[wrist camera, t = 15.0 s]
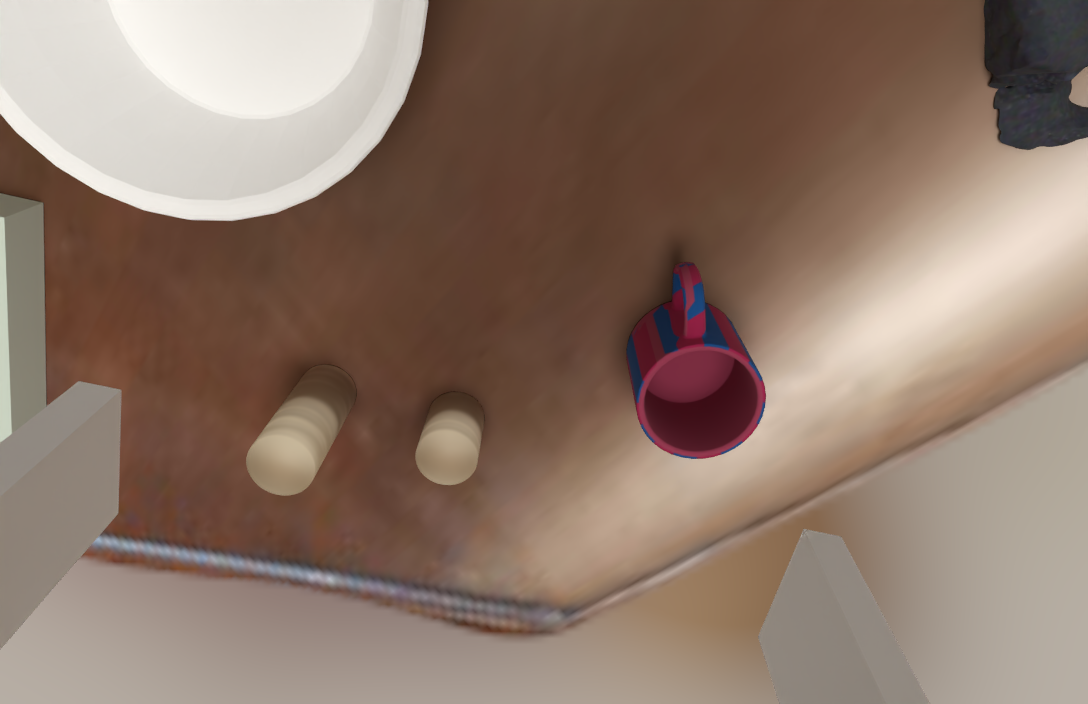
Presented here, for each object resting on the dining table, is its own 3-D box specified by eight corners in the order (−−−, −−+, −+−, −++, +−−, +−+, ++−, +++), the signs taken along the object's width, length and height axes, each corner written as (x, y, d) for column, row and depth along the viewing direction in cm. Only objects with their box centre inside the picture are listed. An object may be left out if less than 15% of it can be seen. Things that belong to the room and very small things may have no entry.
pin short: (433, 386, 50) (421, 425, 45) (489, 398, 50) (483, 438, 45) (423, 435, 51) (410, 477, 46) (478, 446, 51) (471, 490, 47)
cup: (624, 402, 50) (633, 458, 44) (631, 243, 46) (642, 280, 40) (733, 402, 50) (759, 459, 44) (749, 244, 46) (780, 281, 40)
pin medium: (303, 358, 49) (250, 428, 41) (361, 372, 49) (319, 445, 41) (295, 408, 50) (242, 486, 42) (351, 422, 51) (309, 502, 42)
